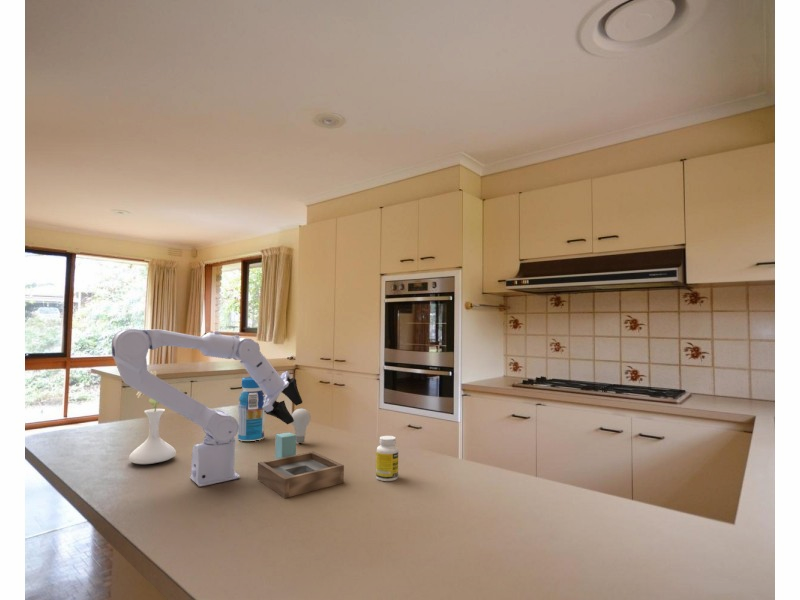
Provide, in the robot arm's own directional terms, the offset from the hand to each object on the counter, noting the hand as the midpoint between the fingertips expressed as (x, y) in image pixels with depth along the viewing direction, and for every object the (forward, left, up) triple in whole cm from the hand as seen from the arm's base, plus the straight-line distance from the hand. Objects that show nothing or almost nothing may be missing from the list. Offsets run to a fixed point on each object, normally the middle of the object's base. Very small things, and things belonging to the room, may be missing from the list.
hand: (295, 412), depth 120 cm
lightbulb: (+10, +17, -14) cm, 24 cm away
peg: (-3, 0, -13) cm, 14 cm away
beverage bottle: (0, +32, -14) cm, 34 cm away
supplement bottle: (+12, -25, -14) cm, 31 cm away
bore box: (-5, -14, -13) cm, 20 cm away
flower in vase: (-30, +25, -14) cm, 41 cm away
